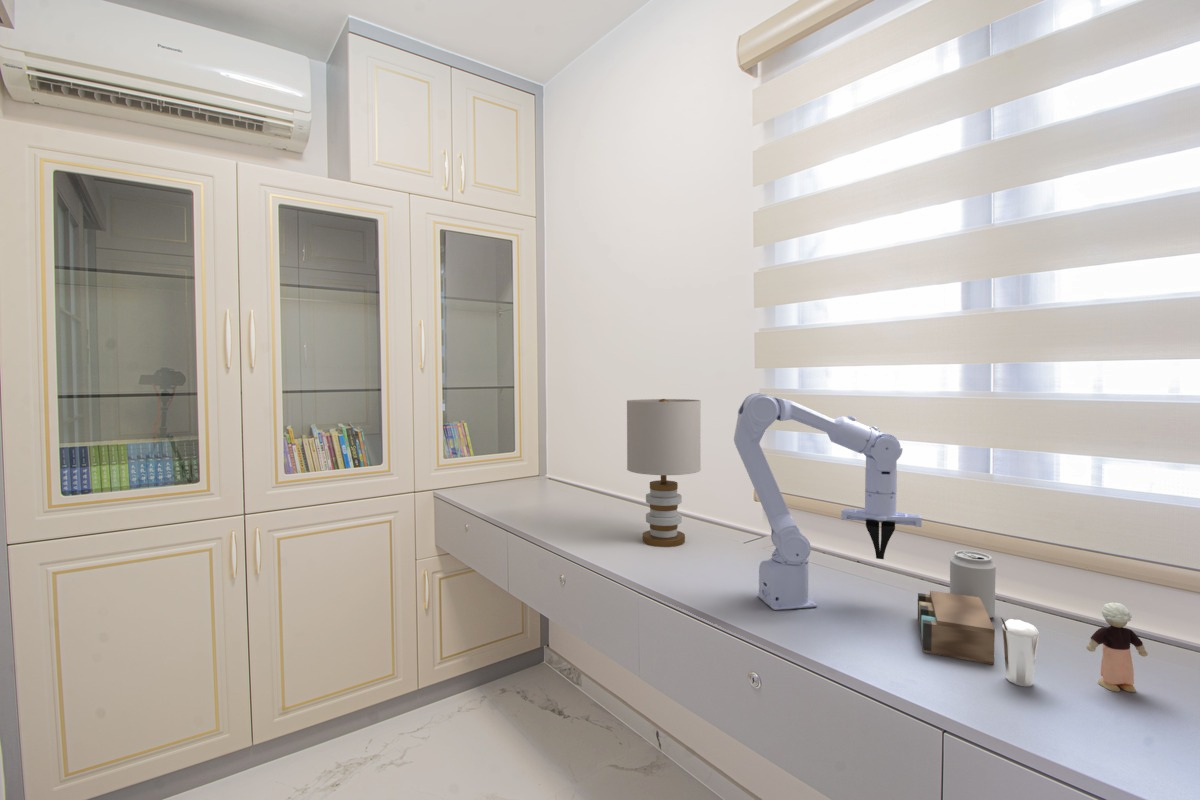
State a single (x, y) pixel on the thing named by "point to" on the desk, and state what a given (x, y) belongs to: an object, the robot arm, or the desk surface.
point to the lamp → (663, 458)
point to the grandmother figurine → (1116, 648)
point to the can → (974, 577)
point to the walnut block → (957, 627)
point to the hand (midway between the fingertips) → (879, 557)
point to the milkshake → (1020, 651)
